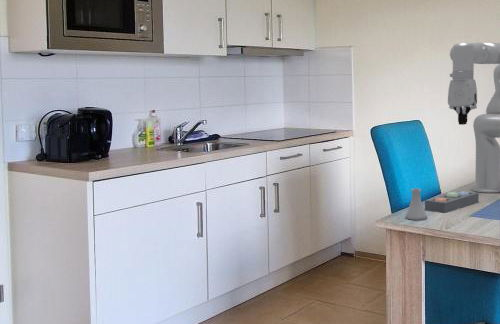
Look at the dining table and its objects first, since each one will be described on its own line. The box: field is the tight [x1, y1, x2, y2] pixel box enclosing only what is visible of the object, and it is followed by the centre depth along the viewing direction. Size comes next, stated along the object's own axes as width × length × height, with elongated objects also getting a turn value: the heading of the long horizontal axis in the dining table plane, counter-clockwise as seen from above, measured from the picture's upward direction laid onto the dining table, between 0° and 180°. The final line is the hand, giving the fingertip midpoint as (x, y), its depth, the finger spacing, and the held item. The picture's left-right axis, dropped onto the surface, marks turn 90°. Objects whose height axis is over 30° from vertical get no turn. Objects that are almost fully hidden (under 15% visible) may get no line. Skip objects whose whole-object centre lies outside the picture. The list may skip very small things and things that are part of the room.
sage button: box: [446, 191, 458, 198], centre depth 228 cm, size 4×4×3 cm
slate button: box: [458, 190, 470, 195], centre depth 233 cm, size 4×4×3 cm
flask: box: [405, 188, 428, 221], centre depth 210 cm, size 7×7×10 cm
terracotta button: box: [434, 197, 447, 202], centre depth 222 cm, size 4×4×3 cm
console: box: [424, 190, 480, 213], centre depth 228 cm, size 24×8×4 cm, turn 132°
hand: (462, 124), depth 237 cm, fingers closed
